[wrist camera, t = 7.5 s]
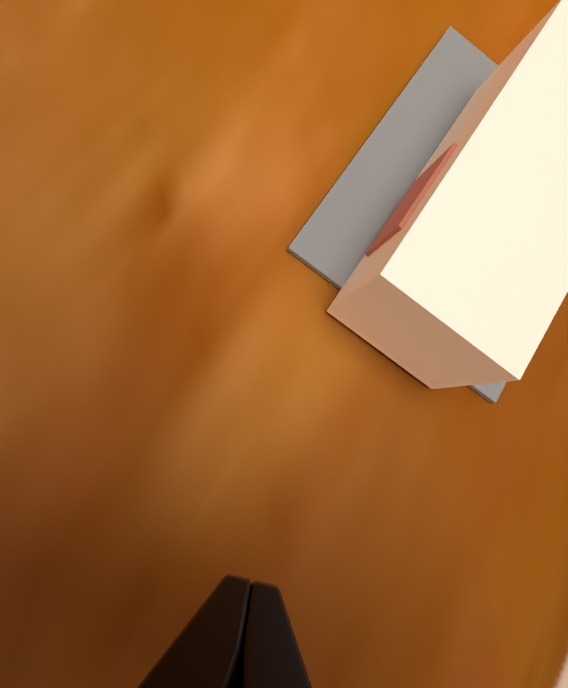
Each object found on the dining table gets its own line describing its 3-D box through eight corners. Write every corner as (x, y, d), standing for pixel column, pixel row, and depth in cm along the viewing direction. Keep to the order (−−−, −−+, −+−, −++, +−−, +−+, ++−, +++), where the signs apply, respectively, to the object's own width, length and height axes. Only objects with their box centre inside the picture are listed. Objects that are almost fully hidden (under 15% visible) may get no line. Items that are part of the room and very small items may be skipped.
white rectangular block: (523, 383, 14) (680, 90, 17) (375, 271, 14) (563, -12, 17) (432, 391, 19) (566, 164, 22) (321, 309, 19) (473, 87, 22)
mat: (490, 403, 20) (495, 402, 20) (286, 250, 19) (288, 247, 19) (614, 170, 23) (620, 167, 23) (446, 31, 22) (450, 26, 22)
